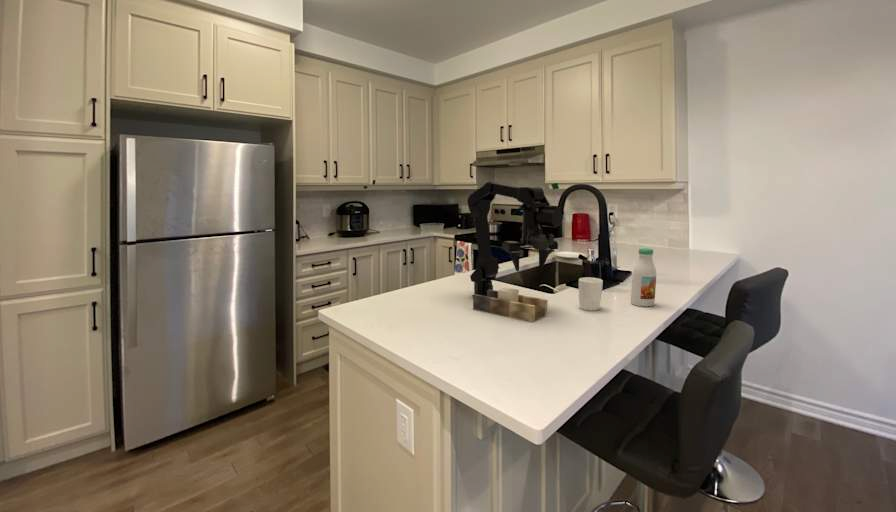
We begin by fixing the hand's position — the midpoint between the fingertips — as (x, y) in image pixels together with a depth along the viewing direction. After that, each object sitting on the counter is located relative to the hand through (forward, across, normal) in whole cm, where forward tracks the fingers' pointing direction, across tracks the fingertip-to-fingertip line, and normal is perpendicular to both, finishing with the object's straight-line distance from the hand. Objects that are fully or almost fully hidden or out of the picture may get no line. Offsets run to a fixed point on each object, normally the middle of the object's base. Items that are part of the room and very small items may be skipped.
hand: (529, 270), depth 144 cm
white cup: (+14, +20, -7) cm, 25 cm away
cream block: (+11, -8, -1) cm, 14 cm away
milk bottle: (+13, +41, -10) cm, 44 cm away
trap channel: (+14, -8, -1) cm, 16 cm away
